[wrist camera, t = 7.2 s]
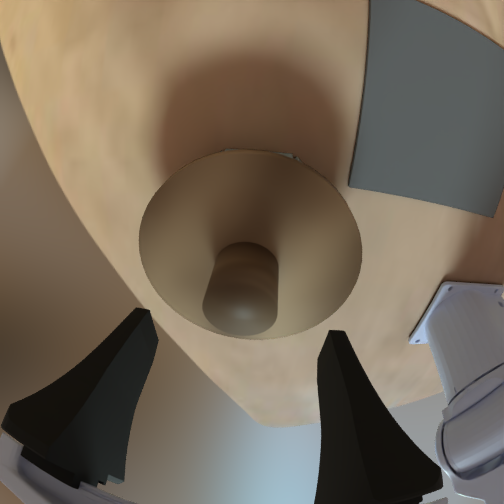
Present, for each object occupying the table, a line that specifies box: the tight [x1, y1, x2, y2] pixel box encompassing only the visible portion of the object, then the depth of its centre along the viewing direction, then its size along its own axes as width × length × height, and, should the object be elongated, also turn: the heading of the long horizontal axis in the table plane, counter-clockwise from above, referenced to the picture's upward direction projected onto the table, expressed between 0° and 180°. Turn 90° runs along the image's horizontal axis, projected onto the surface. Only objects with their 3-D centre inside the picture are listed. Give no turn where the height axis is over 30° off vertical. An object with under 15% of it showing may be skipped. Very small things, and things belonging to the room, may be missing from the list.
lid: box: [139, 149, 362, 340], centre depth 13 cm, size 12×12×4 cm
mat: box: [348, 0, 504, 218], centre depth 12 cm, size 13×13×1 cm
